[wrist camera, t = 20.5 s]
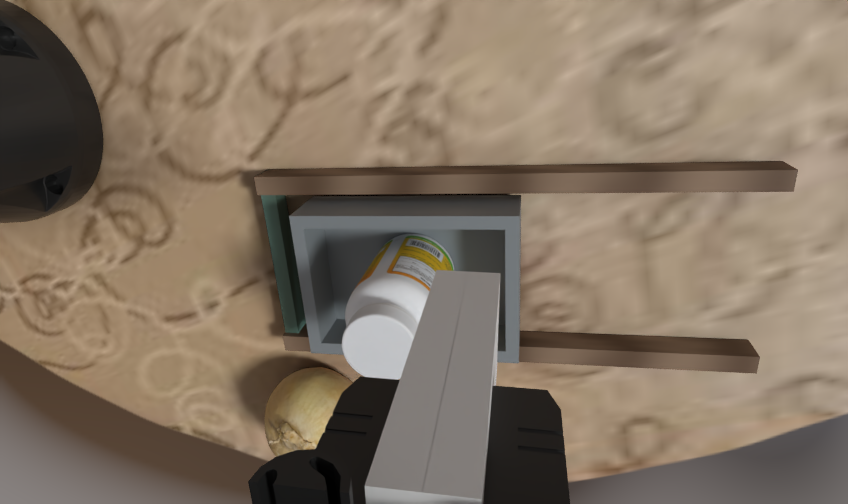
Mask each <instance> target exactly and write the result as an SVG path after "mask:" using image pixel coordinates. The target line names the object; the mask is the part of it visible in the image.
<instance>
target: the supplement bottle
mask: <svg viewBox="0 0 848 504" xmlns="http://www.w3.org/2000/svg"><path fill="white" fill-rule="evenodd" d="M436 270H447V271H454V265H453V262H452V259H451V257H450V255H449V254H448V252H447V251H446V250H445V249H444V247H443V246H441V245H440V244H439V243H438V242H437V241H435V240H433V239H432V238H429V237H427V236H424V235H420V234H404V235H400V236H397V237H395V238H393V239H391V240H390V241H388V242H387V243H386V244H385V245H384V246H383V247H382V248H381V249H380V251H379V252H378V254H377V255H376V257H375V258H374V260H373V261H372V263H371V265H370V266H369V268H368V269H367V271H366V272H365V274H364V275H363V277H362V278H361V280H360V282H359V283H358V284H357V286H356V287H355V289H354V291H353V292H352V294H351V296H350V298H349V300H348V303H347V306H346V311H345V321H346V329H345V331H344V333H343V336H342V350H343V354H344V356H345V358H346V360H347V362H348V363H349V365H350V366H351V367H352V368H353V369H354V370H355V371H357V372H358V373H359V374H361V375H363V376H364V377H372V378H384V379H396V380H397V379H400V378H401V375H402V372H403V369H404V366H405V363H406V360H407V357H408V354H409V351H410V348H411V345H412V342H413V339H414V336H415V333H416V330H417V327H418V324H419V321H420V318H421V315H422V312H423V309H424V306H425V303H426V300H427V297H428V294H429V291H430V288H431V285H432V282H433V279H434V276H435V273H436Z"/></svg>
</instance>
